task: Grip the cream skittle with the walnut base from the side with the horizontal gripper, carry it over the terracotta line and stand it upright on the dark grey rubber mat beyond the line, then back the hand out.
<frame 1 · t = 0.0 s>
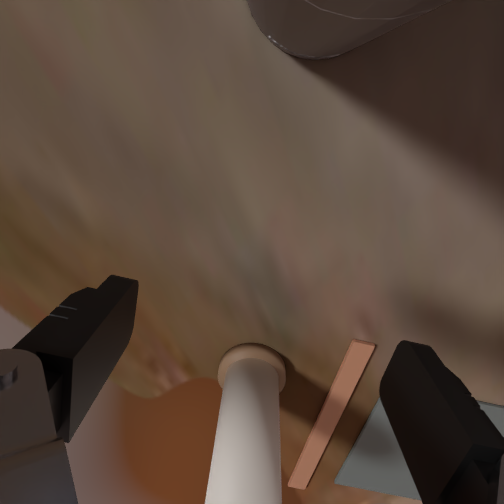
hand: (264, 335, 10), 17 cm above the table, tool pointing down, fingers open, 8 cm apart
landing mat: (421, 448, 37), on the table
skittle: (252, 369, 34), on the table
distance line: (325, 422, 36), on the table
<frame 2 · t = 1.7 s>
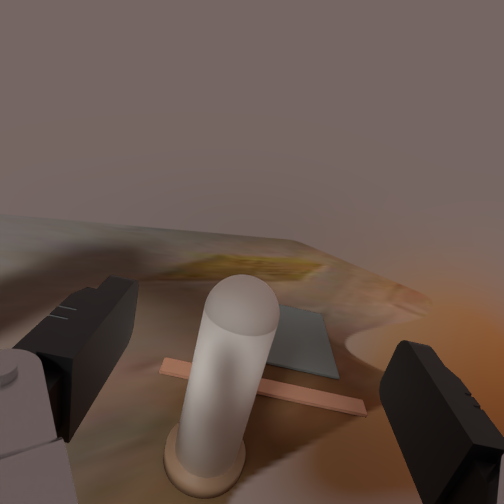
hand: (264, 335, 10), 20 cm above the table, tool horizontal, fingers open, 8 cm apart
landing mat: (271, 330, 47), on the table
skittle: (203, 457, 28), on the table
distance line: (264, 388, 37), on the table
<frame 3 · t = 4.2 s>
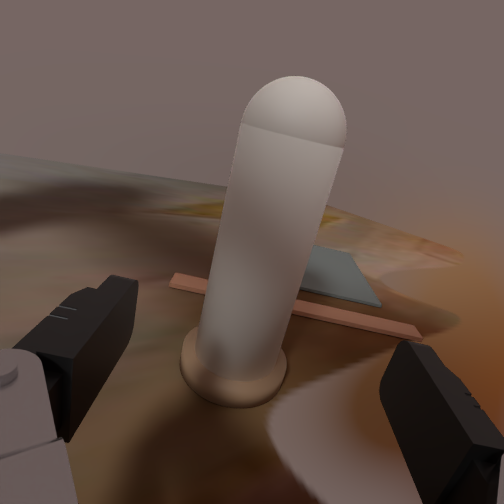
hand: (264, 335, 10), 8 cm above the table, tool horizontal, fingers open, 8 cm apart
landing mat: (296, 262, 40), on the table
skittle: (231, 366, 21), on the table
distance line: (296, 308, 30), on the table
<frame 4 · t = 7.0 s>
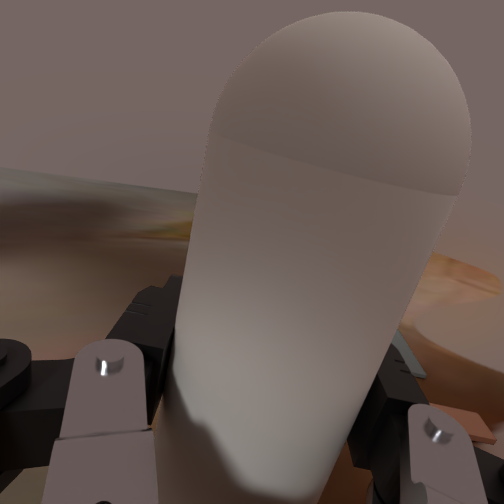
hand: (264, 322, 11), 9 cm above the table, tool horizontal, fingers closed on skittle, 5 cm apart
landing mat: (307, 305, 31), on the table
distance line: (312, 394, 21), on the table
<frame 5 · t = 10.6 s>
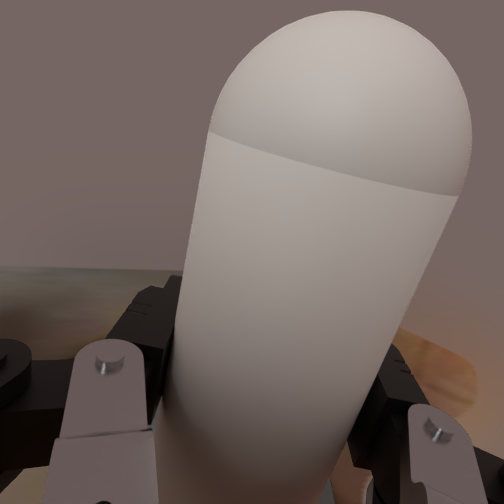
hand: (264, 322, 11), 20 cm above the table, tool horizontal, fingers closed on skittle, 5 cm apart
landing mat: (231, 490, 26), on the table
when the fingers open (10 cm above the table, at t = 14.2 s): skittle drops 1 cm, resting on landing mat.
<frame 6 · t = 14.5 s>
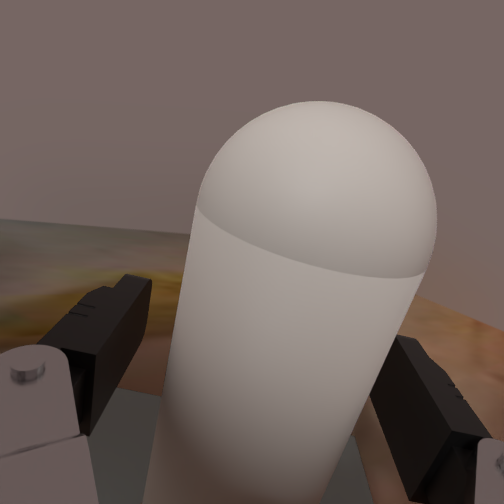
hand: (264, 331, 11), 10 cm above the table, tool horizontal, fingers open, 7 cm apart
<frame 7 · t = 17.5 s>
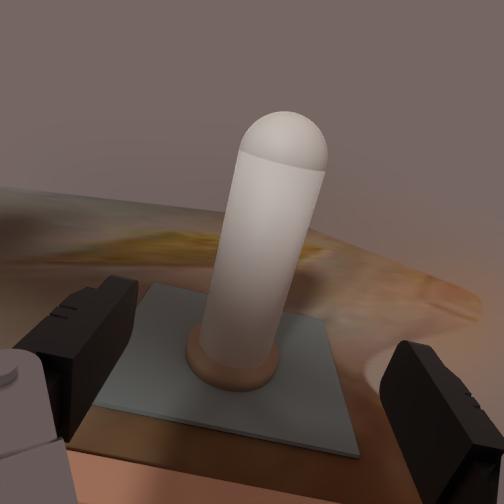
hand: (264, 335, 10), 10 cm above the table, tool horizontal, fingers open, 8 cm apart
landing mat: (231, 351, 26), on the table
skittle: (231, 357, 24), resting on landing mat
distance line: (186, 502, 15), on the table
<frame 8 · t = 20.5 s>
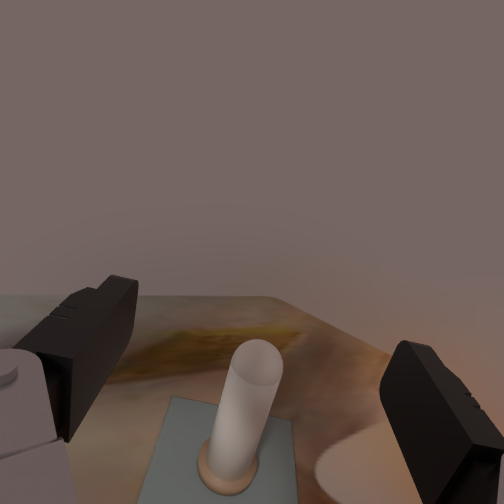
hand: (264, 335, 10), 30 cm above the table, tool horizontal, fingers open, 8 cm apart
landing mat: (226, 458, 39), on the table
skittle: (226, 466, 38), resting on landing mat
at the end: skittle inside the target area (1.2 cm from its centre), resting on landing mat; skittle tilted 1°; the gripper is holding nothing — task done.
